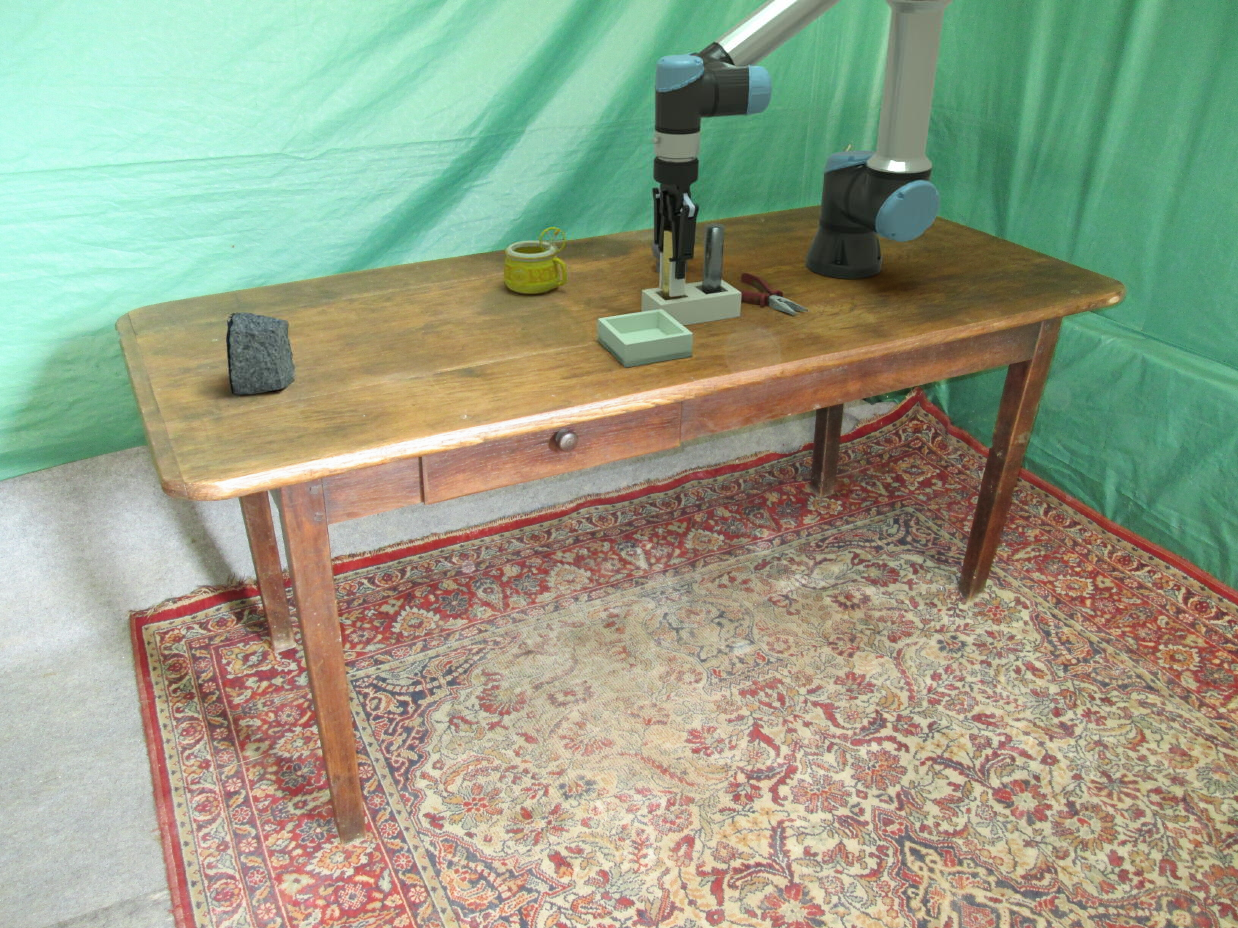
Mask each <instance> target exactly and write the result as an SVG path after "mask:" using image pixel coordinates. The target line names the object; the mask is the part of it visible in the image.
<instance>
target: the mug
mask: <svg viewBox="0 0 1238 928" xmlns="http://www.w3.org/2000/svg"><path fill="white" fill-rule="evenodd" d="M552 230H555V231H554V235H553V237H552V236H551V233H550V231H552ZM545 233H546V234H547V235H548V237H549V238H550V239H542V238H543V236H544V234H545ZM559 234H561V235H562V236H563V238H562V239H560V238H559V239H556V237H557V236H558V235H559ZM555 242H559V243H561V242H562V245H561V246H560V248H558V246H557V245H556V243H555ZM565 246H566V236H565V234H564V231H562V230H561V229H560V228H558V227H555V226H554V227H553V226H552V227H551V226H550V227H548V228H545V229H544V230H543V231H542V232H541V234H540V235H539V238H538V240H522V241H517V242H514V243H511V244H510V245H509V246H508V247H506V248H505V250H504V251H505V252H504V253H505V259H504V270H503V280H504V284H505V285H506V287H507V288H508V290H511V291H513V292H515V293H520V294H523V295H538V294H545V293H547V292H550V291H552V290H554V289H556V288H559V287H561V286H564V285H566V282H567V279H568V277H567V276H568V273H567V268H566V265H565V264H566V263H564V261H563V260H561V259H560V258H558V256H557V254H558V253H560V252H561V251H562V250H563V249H564V247H565ZM560 267H561V270H562V280H560V279H561V273H560V272H561V271H560Z"/></svg>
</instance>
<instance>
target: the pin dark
mask: <svg viewBox="0 0 1238 928" xmlns="http://www.w3.org/2000/svg"><path fill="white" fill-rule="evenodd" d="M725 228H726V226H725V224H722V223H718V222H710V223H706V224H705V227H704V240H703V241H704V242H703V247H704V248H703V260H702V261H703V263H702V281H701V282H702V292H703V293H705V294H712V293H719V292H721V279H722V280H723V278H722V277H723V261H724V259H723V258H724V246H725V245H724V244H725Z"/></svg>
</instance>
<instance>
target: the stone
mask: <svg viewBox="0 0 1238 928" xmlns="http://www.w3.org/2000/svg"><path fill="white" fill-rule="evenodd" d="M226 323H227V325H226V326H227V329H226V330H227V331H226V334H225V343H226V353H227V354H226V358H227V368H228V379H229V386H230V391H231V394H235V395H237V396H244V395H258V394H259V393H260V394H261V393H267V392H270V391H271V392H272V391H275V390H276V391H277V390H282V389H284V388H288V387H289V386H290V385H291V384H292V382H294V380H295V368H296V367H295V364H294V360H293V357H294V356H293V355H294V354H293V352H292V346H291V342H290V341H291V340H290V338H289V327H290V324H289V321H288V320H286V319H283V318H281V319H280V318H276V317H272V316H266V315H261V314H256V313H252V312H233V313H231V314H230V315H229V316H228V318H227V319H226Z"/></svg>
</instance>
